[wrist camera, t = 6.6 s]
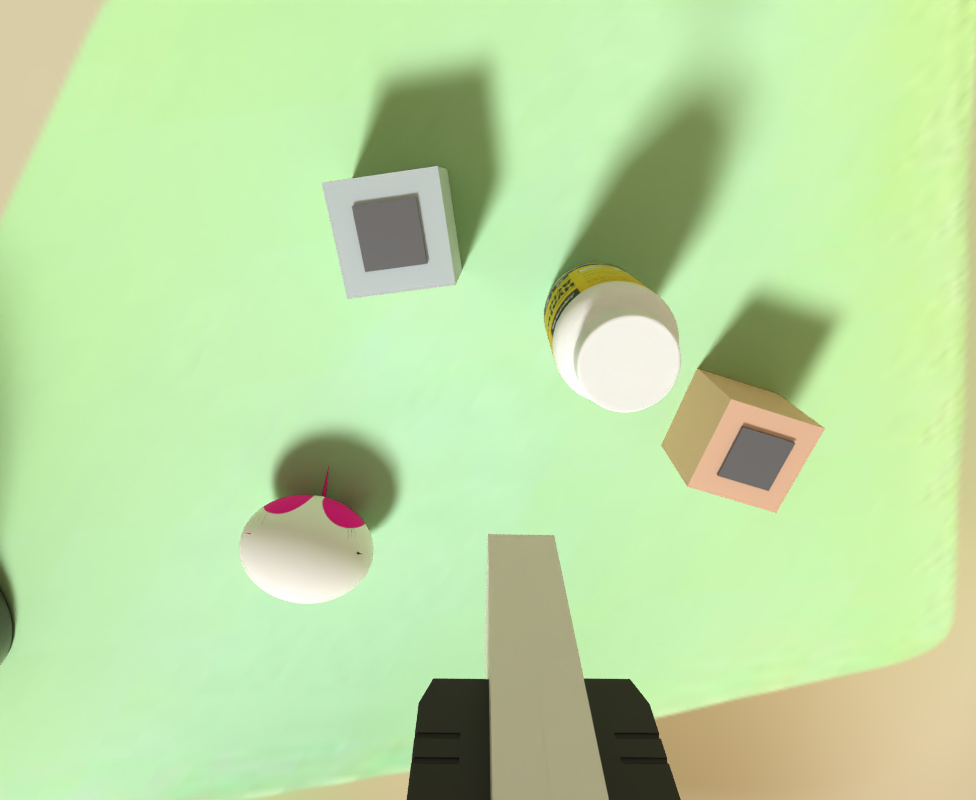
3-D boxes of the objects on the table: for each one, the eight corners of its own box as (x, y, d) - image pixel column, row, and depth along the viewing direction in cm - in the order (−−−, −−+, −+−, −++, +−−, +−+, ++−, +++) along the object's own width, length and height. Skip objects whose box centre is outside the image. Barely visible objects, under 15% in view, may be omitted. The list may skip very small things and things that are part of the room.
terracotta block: (661, 444, 33) (688, 488, 29) (696, 368, 32) (732, 400, 27) (737, 467, 34) (778, 514, 29) (777, 393, 32) (826, 430, 27)
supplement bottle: (550, 255, 30) (572, 285, 20) (651, 267, 30) (719, 303, 21) (535, 353, 32) (549, 421, 22) (630, 365, 32) (684, 437, 23)
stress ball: (391, 482, 38) (390, 473, 32) (363, 605, 36) (356, 621, 30) (279, 459, 38) (255, 445, 31) (244, 583, 36) (210, 595, 29)
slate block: (370, 282, 30) (346, 299, 26) (350, 183, 29) (320, 182, 24) (462, 269, 30) (455, 285, 25) (447, 169, 28) (436, 166, 24)
